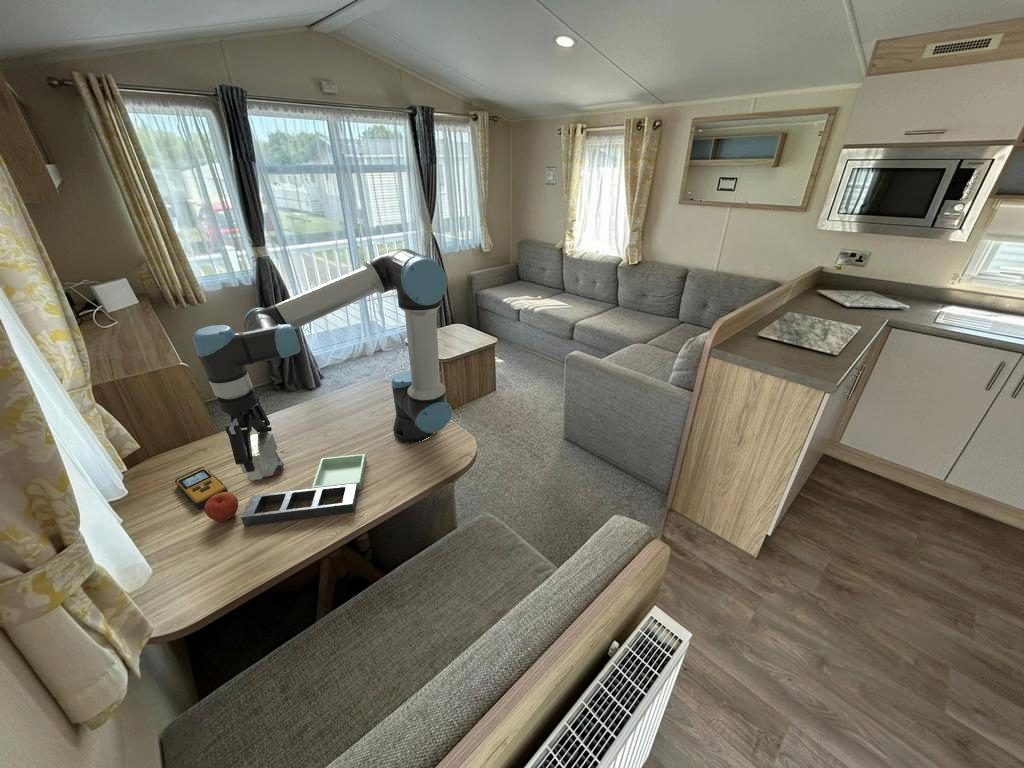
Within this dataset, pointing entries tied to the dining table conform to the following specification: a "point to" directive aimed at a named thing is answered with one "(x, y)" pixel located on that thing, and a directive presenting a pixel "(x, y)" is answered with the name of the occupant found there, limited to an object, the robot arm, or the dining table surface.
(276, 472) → the rock
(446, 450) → the dining table surface
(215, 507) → the apple
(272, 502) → the rail
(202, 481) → the electronic device
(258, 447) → the white rectangular block
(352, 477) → the tray
